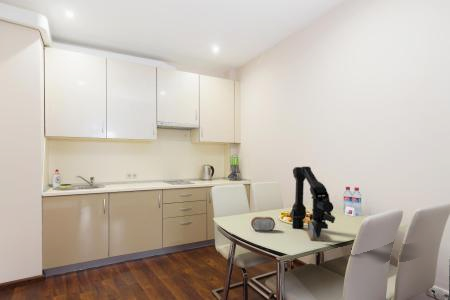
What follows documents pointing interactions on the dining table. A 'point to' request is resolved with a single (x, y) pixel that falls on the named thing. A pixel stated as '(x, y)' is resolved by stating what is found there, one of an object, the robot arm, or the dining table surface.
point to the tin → (263, 223)
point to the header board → (311, 235)
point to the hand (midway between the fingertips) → (318, 236)
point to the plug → (313, 231)
